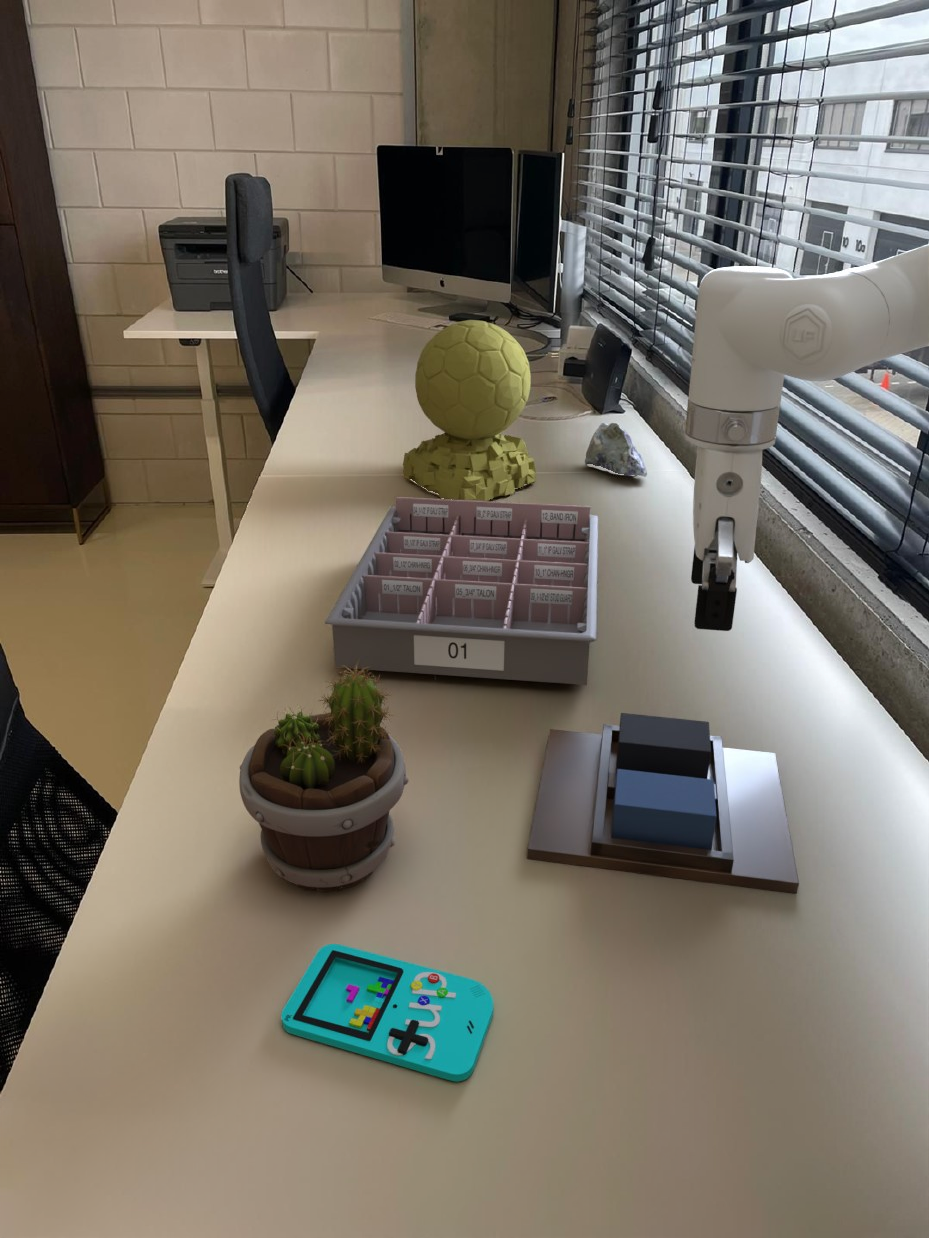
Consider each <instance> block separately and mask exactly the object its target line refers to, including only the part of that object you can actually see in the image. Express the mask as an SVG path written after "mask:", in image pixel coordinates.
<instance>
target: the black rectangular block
mask: <svg viewBox="0 0 929 1238" xmlns="http://www.w3.org/2000/svg"><path fill="white" fill-rule="evenodd" d="M709 722H710V721H706V720H705V721H704V720H697V719H696V720H694V719H685V718H675V717H667V716H666V717H665V716H655V715H646V714H635V713H626V712H620V718H619V726H620V728H619V738H618V749H617V763H616V773H617V769H623V770H632V771H641V772H649V773H658V774H667V775H676V776H685V777H694V778H703V779H707V777H708V770H709V764H710V757H711V743H710V736H711V731H710V723H709Z"/></svg>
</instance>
